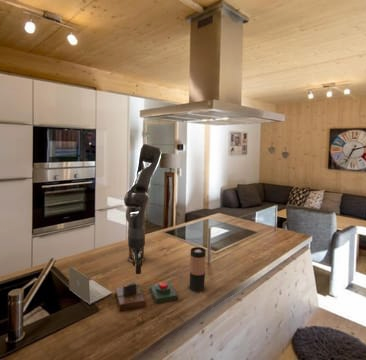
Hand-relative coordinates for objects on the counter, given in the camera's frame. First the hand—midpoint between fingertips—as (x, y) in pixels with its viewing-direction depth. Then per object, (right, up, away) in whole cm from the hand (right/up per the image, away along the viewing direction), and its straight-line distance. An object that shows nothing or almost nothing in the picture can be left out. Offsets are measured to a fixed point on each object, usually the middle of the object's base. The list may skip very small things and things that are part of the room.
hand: (136, 269), depth 129 cm
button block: (+12, -14, +6) cm, 19 cm away
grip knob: (-3, -11, +1) cm, 12 cm away
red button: (+12, -10, +6) cm, 17 cm away
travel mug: (+29, -14, +13) cm, 34 cm away
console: (-3, -14, +1) cm, 15 cm away
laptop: (-23, -13, +7) cm, 28 cm away
